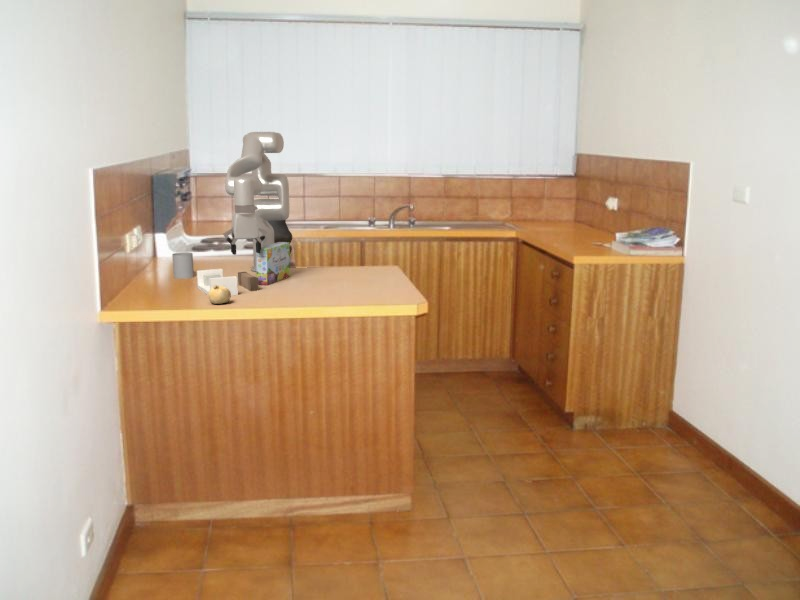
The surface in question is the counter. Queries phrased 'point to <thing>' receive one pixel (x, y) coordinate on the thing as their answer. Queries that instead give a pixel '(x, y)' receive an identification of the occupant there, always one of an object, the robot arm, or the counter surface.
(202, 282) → the white bracket frame
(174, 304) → the counter surface
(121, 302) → the counter surface
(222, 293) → the onion
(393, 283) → the counter surface
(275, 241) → the pitcher
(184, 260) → the cup
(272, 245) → the snack box
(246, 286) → the tan bar
